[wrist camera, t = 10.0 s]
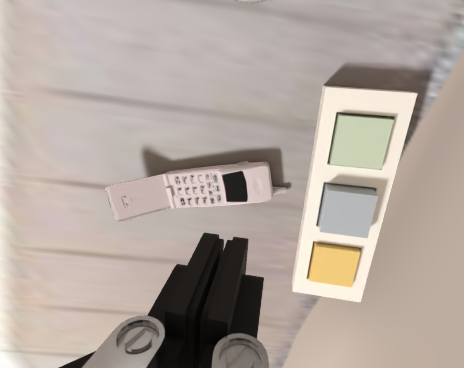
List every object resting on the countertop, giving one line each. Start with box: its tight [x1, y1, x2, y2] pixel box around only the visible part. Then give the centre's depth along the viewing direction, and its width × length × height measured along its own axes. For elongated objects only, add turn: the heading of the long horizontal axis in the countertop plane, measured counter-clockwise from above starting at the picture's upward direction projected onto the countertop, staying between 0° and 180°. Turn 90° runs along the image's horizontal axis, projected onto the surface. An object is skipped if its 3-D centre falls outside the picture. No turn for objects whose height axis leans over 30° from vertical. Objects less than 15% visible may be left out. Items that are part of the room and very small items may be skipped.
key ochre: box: [308, 241, 360, 288], centre depth 44 cm, size 6×6×2 cm
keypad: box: [292, 85, 418, 302], centre depth 42 cm, size 30×10×3 cm, turn 177°
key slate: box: [318, 183, 378, 238], centre depth 40 cm, size 6×6×2 cm
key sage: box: [328, 113, 394, 169], centre depth 37 cm, size 6×6×2 cm
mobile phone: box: [106, 161, 287, 222], centre depth 44 cm, size 6×6×25 cm
